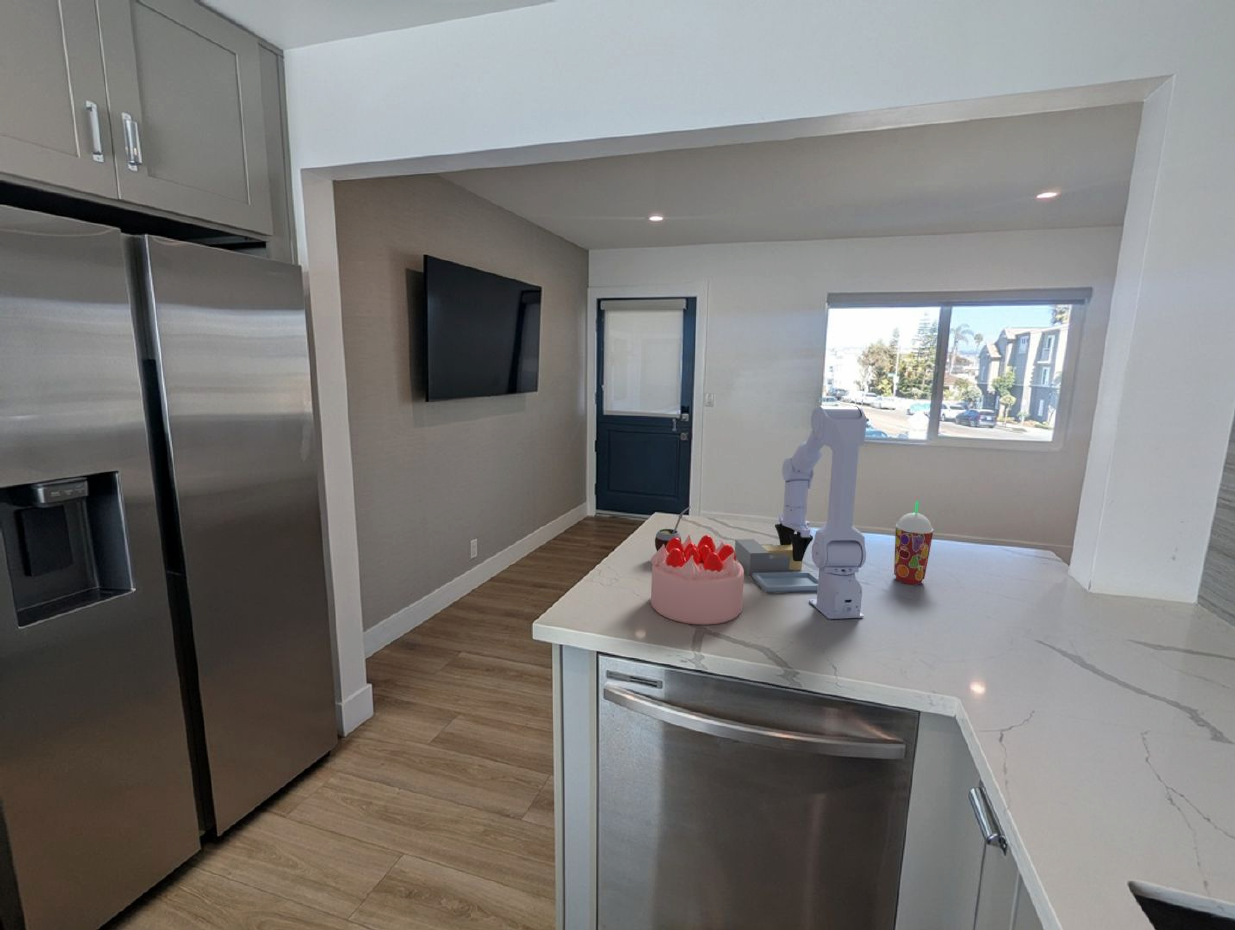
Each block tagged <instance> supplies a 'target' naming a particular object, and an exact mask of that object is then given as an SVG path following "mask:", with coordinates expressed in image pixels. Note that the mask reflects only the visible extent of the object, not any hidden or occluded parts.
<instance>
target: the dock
mask: <svg viewBox="0 0 1235 930" xmlns="http://www.w3.org/2000/svg"><path fill="white" fill-rule="evenodd" d="M767 545H774V544H773V543H767V544H766V543H765V544H764V543H762V544H761V543H759V542H758V541H756V540H755V539H754V538H749V539H748V538H746V539H745V538H743V539H740V538H739V539H738V538H737V539H735V542H734V551H735V554H736V557H737V560H738V562H739V563H740V564H741V565H742V567H743V569H744V574H745V573H746V575H747V576H748V577H753V573H771V572H790V570H789V568H790V557H788V556H787V555H786V554H771V555H770V552H768V551H767V550H766V549H765V548H764V547H762V546H767Z"/></svg>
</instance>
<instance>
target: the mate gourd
mask: <svg viewBox="0 0 1235 930" xmlns="http://www.w3.org/2000/svg"><path fill="white" fill-rule="evenodd" d="M690 508H691V505H690V506H688V507H687V508H685V509H684V510H682V511H681V513H680V514H679V516H678V519H677V522H676V525H675V526H674V529H672V528H663V529H659V530H658V531H657V532H656V534H655V538H654V546H655V550H656V552H657V551H658V550H659V549H660V548H661V547H662V546H663V544H664V546H665V548H666V545H667V544H668V542H669V540H670V539H671V538H673V537H676V538H678V539H679V540H680V541H681V542H682V538H681V537H682V536H681V534H680V532H679V531H678V530H677V529H678V527H679V524H680V521H681V519H682V517H683V515H684V514H685V513H686V512H687V511H688V510H689V509H690Z"/></svg>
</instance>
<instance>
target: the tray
mask: <svg viewBox="0 0 1235 930" xmlns="http://www.w3.org/2000/svg"><path fill="white" fill-rule="evenodd" d="M818 578H819V576H817V575H816V574H815V573H813V571H811V570H810V571H809V570H806V571H805V570H804V571H802V570H801V571H789V572H771V573H753V576H752V580H753V582H755V583H756V584H757V585H758V586H759V587H760V588H761V590H762V591H764V593H765V594H785V593H787V594H788V593H789V594H790V593H811V592H813V593H814V592H815V593H816V592H817V590H818Z"/></svg>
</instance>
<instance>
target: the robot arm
mask: <svg viewBox="0 0 1235 930" xmlns="http://www.w3.org/2000/svg"><path fill="white" fill-rule="evenodd" d="M810 426H811V427H810V428H811V432H810V434H809V436H808V437H807V438H808V439H807V440H805V441H803V442H801V443H800V444H799V445H798V447H797V449H796V450H795V452H794V454H793V455H792V457H788V458H785V459H784V461H783V463H782V466H781V467H782V468H781V472H782V473H781V474H782V478H783V480H784V483H785V484H784V496H783V497H784V498H783V508H782V509H783V510H782V511H783V512H782V514H779V515H778V522H779V523H775V524H774V527H775V530H776V532H777V536H778V538H779V539H778V540H779V545H792V549H793V560H794V561H802V562H803V560H804V557H805V555H804V554H806V551H807V549H808V547H809V546H810V544H811V542H812V541H813V543H812V546H811V559H812V562H813V564H814V566H816V567H817V568H818V577H819V578H818V590H817V593H816V598H809V599H808V602H809V604H811V605H812V606H814V608H816V609H817V610H818V611H819V612H820V613H821V614H823V616H825V617H826V618H827V619H829V620H837V619H839V620H841V619H856V618H857V619H859V618H860V619H861V618H865V615H864V614H863V613H862V612H861V608H862V599H863V597H862V596H863V588H862V585H861V584H860V582H859V581H858V580H857V578H856V573H859V570H860V569H861V568H862V567H863V566H864V565H865V563H866V560H867V550H866V545H865V544H866V543H865V542H866V541H865V539H866V537H865V535H863V533H862V532H861V530H859V529H857V528H856V527H855V526H854V525H853V521H854V520H853V519H854V509H855V498H856V497H855V496H856V484H857V476H858V475H857V472H858V463H859V462H858V461H859V451H860V449H859V448H860V447H861V446H863V445H864V444H865V439H866V431H867V429H866V428H867V416H866V414H865V412H864V410H863V408H862V407H861V406H859V405H855V406H829V405H827V406H824V405H816V407H814V409H813V410H812V413H811V417H810ZM824 446H826V447H829V448H830V449H831V451H832V452H831V453H832V456H831V457H832V458H831V468H830V469H831V470H830V472H831V473H830V481H829V482H830V483H829V494H828V506H827V507H828V509H827V510H828V511H827V521H826V523H825V524H824V525H823V526H821V527H820V528H819V529H818V530H816V531H815V534H814V536H813V535H811V529H810V528H809V527H808V526H811V522H810V521H809V520H807V507H808V497H809V496H808V495H809V489H811V485H812V480H813V478H814V473H815V472H814V469H815V466H816V465H817V463H819V461H820V459H821V457H822V455H823V451H822V448H823V447H824Z"/></svg>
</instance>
